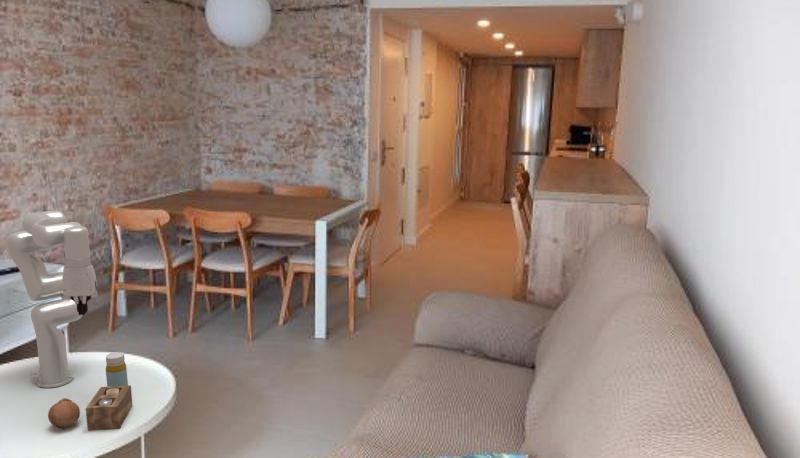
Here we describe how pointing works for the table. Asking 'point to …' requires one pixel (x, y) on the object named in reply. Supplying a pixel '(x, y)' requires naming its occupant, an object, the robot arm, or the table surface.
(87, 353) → the table surface
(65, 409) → the onion
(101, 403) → the peg metal
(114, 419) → the socket block
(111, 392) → the peg birch
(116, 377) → the bottle
